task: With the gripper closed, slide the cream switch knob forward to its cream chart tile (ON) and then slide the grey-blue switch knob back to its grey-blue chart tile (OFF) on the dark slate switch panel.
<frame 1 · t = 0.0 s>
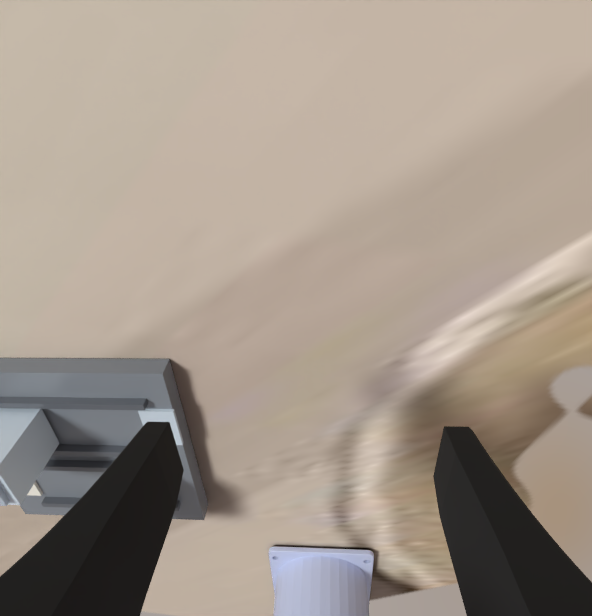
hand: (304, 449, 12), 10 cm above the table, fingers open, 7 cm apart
grey switch: (3, 456, 24), point 3 cm above the table, slide at 6.0 cm
switch panel: (92, 439, 28), on the table
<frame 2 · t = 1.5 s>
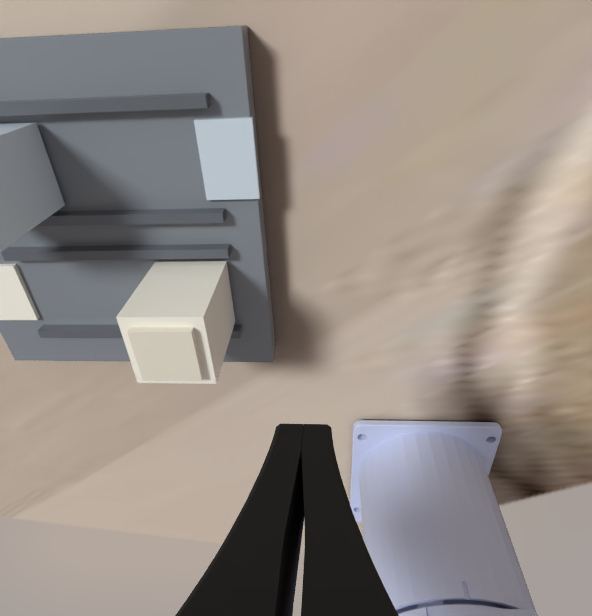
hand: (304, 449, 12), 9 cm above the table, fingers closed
cream switch: (182, 321, 17), point 3 cm above the table, slide at 0.0 cm
switch panel: (113, 221, 19), on the table
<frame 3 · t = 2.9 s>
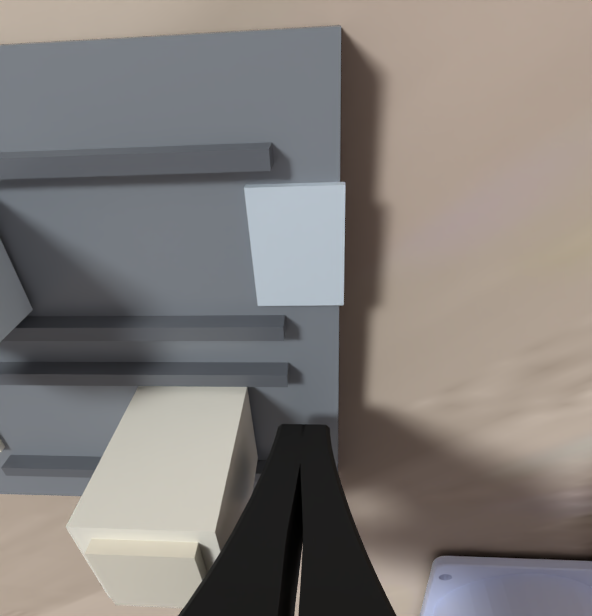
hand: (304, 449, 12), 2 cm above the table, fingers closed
cream switch: (180, 490, 11), point 3 cm above the table, slide at 1.0 cm, touching gripper
switch panel: (109, 319, 12), on the table
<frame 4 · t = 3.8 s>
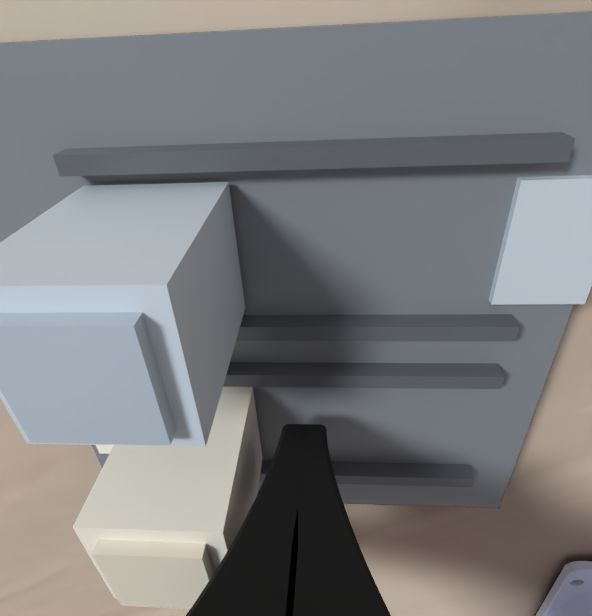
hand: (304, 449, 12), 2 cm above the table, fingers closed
grey switch: (134, 305, 8), point 3 cm above the table, slide at 6.0 cm
cream switch: (186, 490, 11), point 4 cm above the table, slide at 6.1 cm, touching gripper
switch panel: (293, 318, 12), on the table
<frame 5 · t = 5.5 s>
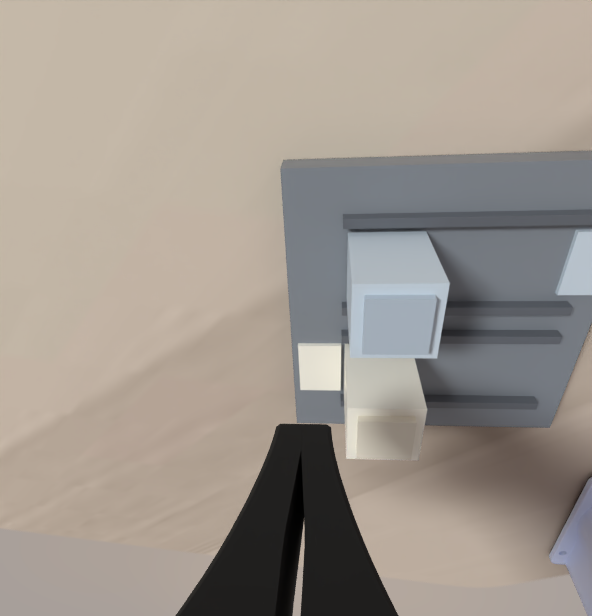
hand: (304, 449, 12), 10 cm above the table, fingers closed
grey switch: (390, 293, 16), point 4 cm above the table, slide at 6.0 cm
cream switch: (380, 401, 19), point 4 cm above the table, slide at 6.0 cm
switch panel: (432, 304, 20), on the table
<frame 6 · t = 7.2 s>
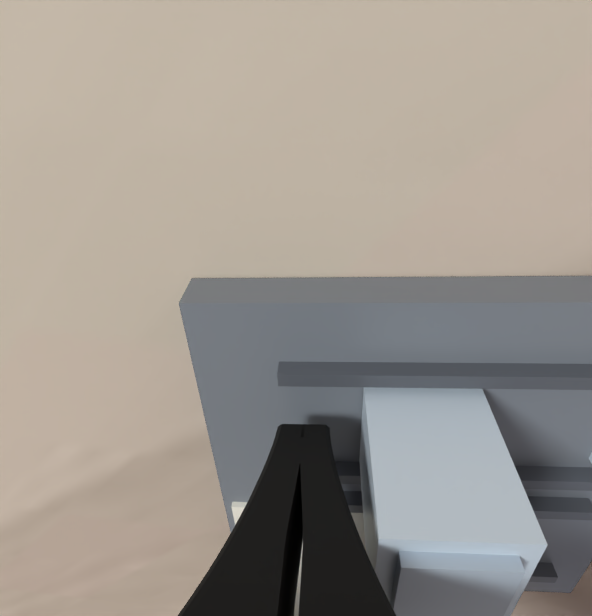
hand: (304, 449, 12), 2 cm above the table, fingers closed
grey switch: (431, 497, 10), point 3 cm above the table, slide at 4.0 cm, touching gripper
cream switch: (340, 600, 13), point 4 cm above the table, slide at 6.0 cm
switch panel: (415, 451, 15), on the table
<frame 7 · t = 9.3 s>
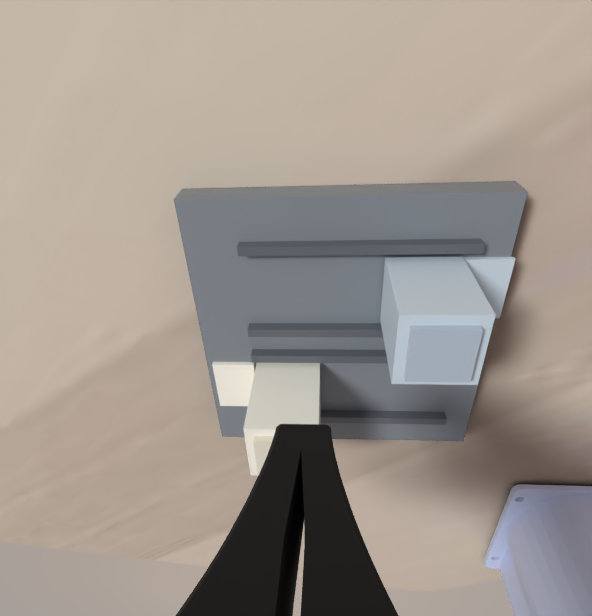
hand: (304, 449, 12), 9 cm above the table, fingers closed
grey switch: (429, 319, 16), point 4 cm above the table, slide at 0.4 cm, touching switch panel
cream switch: (286, 419, 20), point 4 cm above the table, slide at 6.0 cm
switch panel: (341, 324, 21), on the table
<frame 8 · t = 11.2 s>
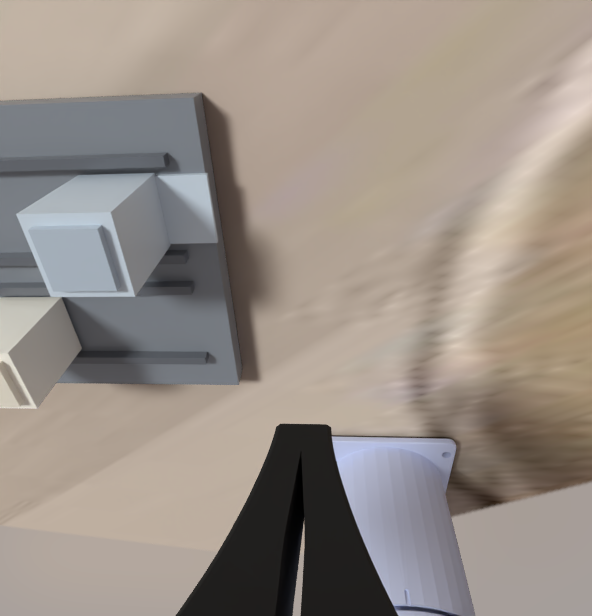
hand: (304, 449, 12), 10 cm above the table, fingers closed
grey switch: (103, 233, 16), point 3 cm above the table, slide at 0.4 cm, touching switch panel
cream switch: (15, 352, 19), point 4 cm above the table, slide at 6.0 cm
switch panel: (88, 258, 20), on the table
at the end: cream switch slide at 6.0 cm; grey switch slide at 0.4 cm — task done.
